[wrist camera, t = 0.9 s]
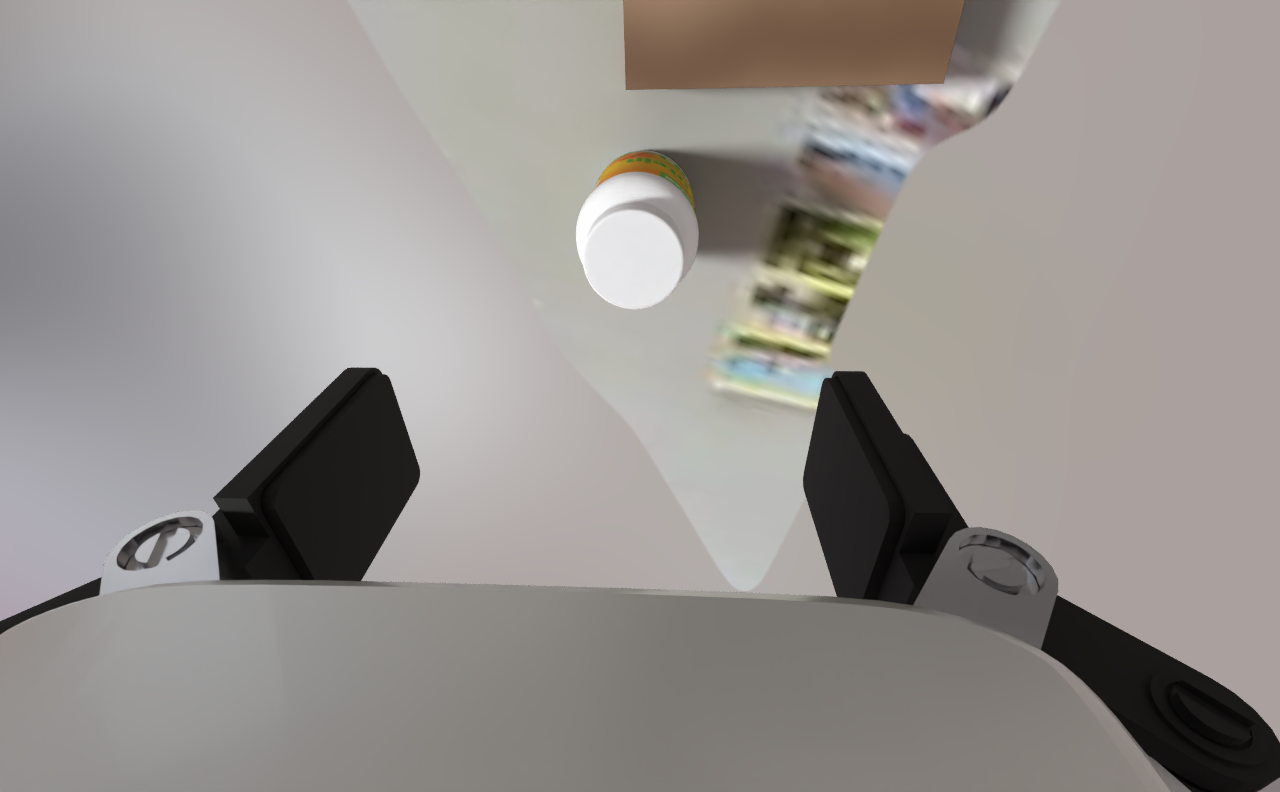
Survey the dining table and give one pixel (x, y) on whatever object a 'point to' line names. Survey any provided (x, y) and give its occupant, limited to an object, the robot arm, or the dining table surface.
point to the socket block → (787, 42)
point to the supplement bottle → (638, 230)
